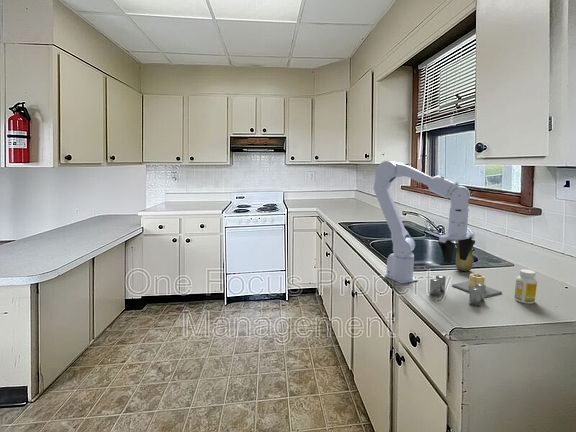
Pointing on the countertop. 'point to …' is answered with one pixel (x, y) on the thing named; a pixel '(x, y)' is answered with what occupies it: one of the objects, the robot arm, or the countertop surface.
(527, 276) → the supplement bottle
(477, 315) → the countertop surface
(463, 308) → the countertop surface
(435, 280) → the cylinder
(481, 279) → the nut
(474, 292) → the cylinder
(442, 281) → the cylinder
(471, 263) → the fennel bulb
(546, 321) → the countertop surface
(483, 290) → the cylinder
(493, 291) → the mat
